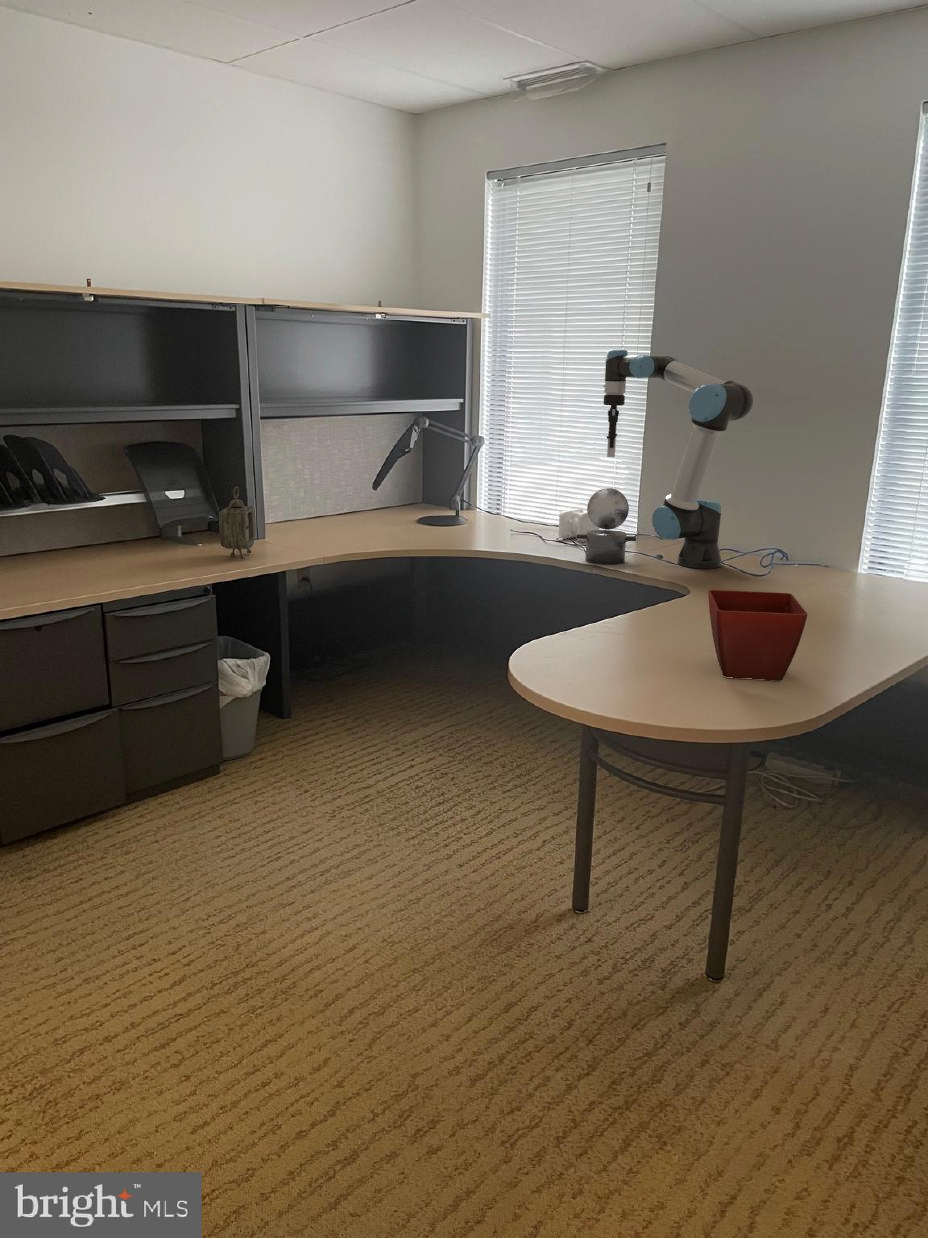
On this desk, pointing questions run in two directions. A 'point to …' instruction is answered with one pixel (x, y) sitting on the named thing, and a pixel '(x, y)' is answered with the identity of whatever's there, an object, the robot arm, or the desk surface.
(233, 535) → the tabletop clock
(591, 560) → the pot
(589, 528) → the cable organizer
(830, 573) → the desk surface
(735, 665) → the plant pot
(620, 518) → the lid
